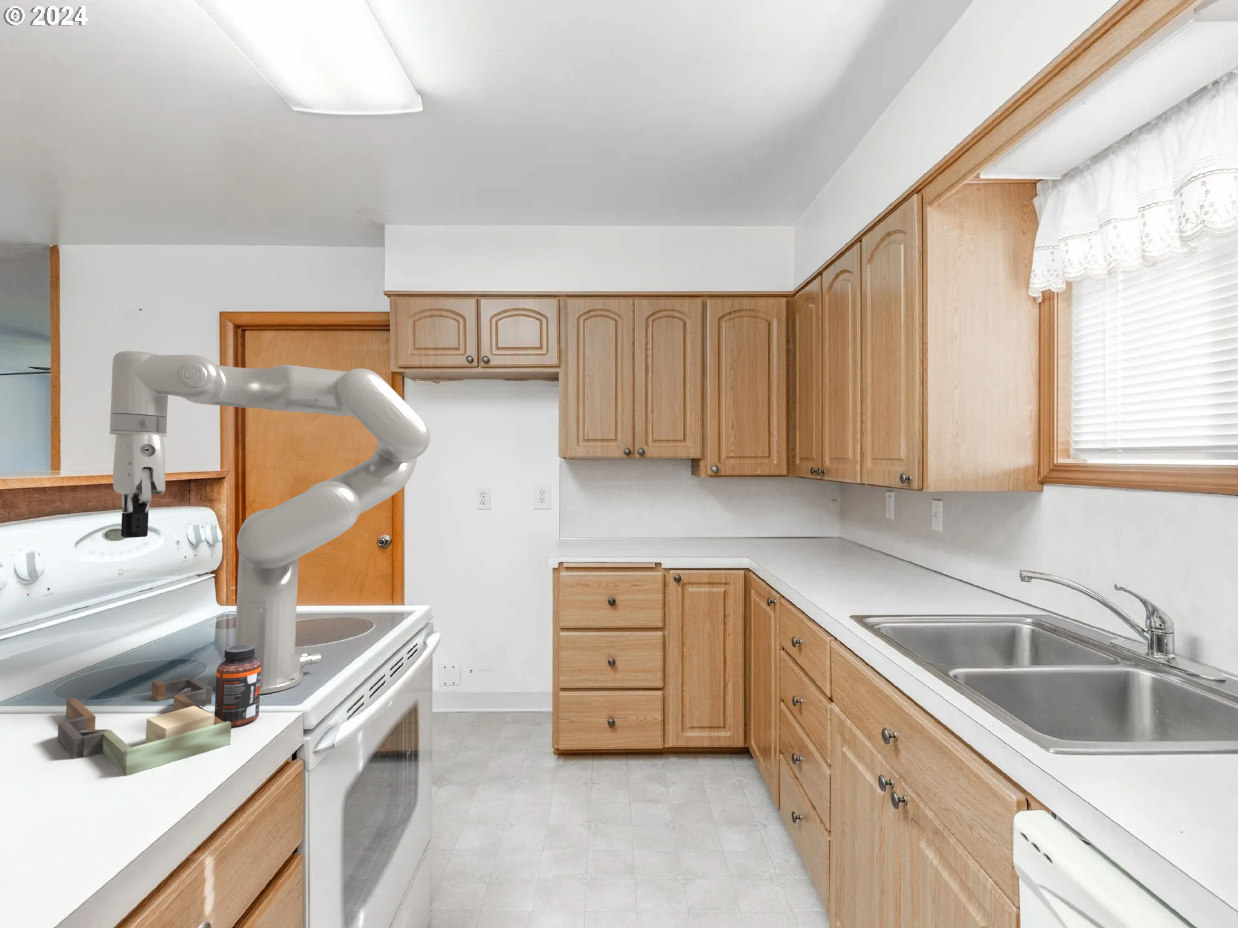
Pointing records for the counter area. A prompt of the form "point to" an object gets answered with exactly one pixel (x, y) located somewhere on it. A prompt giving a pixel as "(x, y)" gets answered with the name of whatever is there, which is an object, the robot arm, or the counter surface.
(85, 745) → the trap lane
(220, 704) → the supplement bottle
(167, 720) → the block
